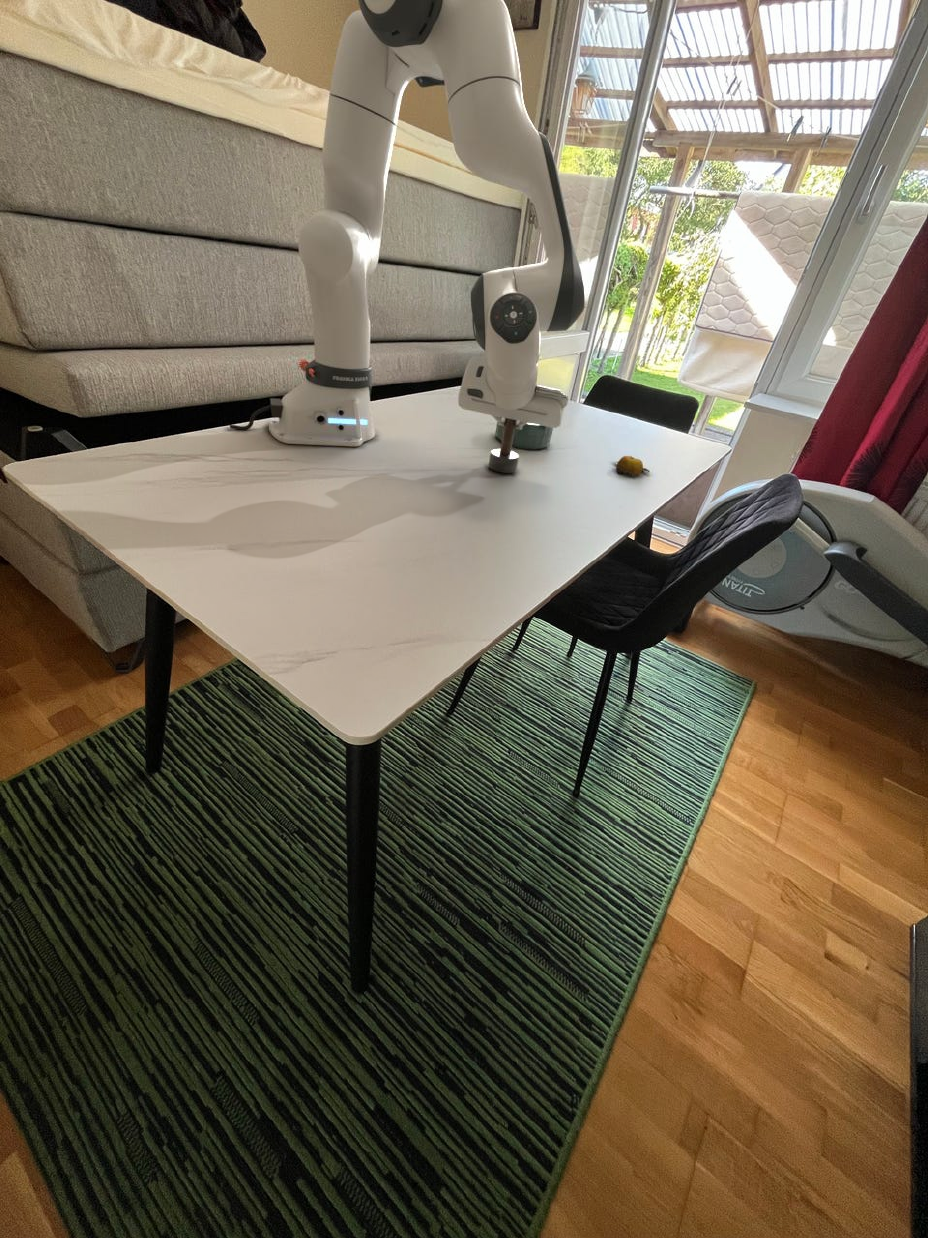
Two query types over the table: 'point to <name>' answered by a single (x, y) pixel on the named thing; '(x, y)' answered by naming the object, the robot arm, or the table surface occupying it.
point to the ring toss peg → (505, 451)
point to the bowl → (528, 436)
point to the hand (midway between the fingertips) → (510, 424)
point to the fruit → (630, 465)
